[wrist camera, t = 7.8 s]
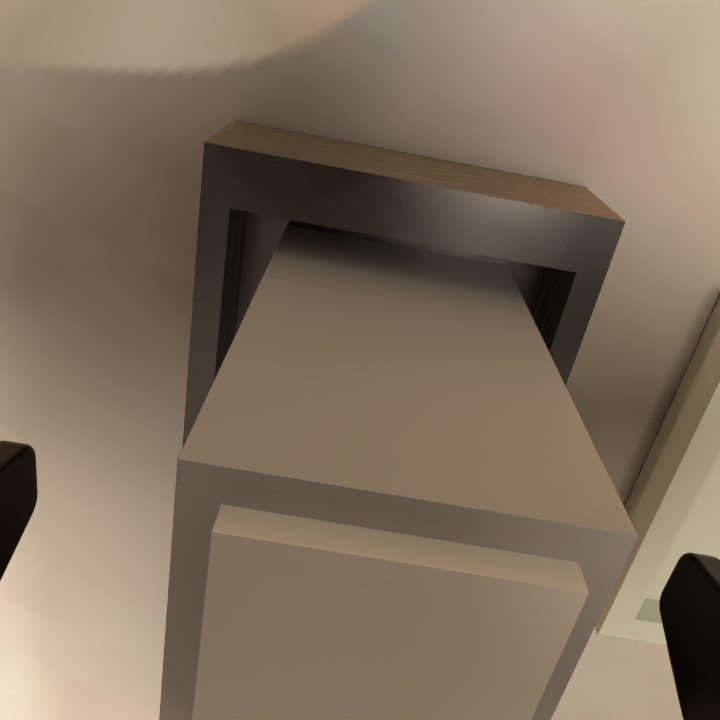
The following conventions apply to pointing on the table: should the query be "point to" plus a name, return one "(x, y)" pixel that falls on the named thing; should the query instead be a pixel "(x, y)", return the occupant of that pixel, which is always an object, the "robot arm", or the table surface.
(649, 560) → the tray
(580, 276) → the strip
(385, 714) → the plug
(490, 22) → the table surface
